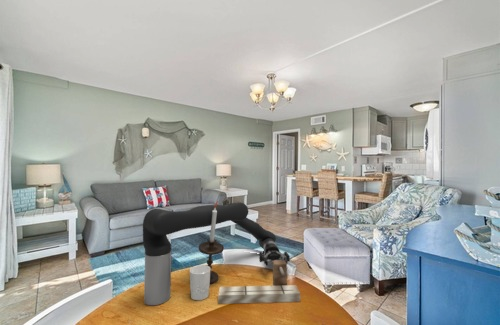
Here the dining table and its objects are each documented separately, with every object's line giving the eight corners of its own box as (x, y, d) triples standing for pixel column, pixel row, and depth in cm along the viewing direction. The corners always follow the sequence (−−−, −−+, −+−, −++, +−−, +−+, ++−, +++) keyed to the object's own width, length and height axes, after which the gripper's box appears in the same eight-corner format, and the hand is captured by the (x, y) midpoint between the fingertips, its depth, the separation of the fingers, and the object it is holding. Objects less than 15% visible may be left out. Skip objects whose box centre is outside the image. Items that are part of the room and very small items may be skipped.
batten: (218, 303, 81) (218, 295, 81) (219, 294, 87) (219, 286, 87) (300, 301, 82) (300, 293, 83) (296, 292, 88) (295, 284, 88)
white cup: (206, 288, 92) (206, 263, 92) (213, 297, 85) (213, 270, 85) (186, 293, 88) (187, 267, 88) (192, 303, 81) (193, 275, 81)
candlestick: (222, 273, 104) (230, 199, 102) (217, 287, 93) (225, 205, 91) (200, 269, 105) (207, 196, 103) (191, 283, 94) (199, 201, 92)
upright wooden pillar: (276, 299, 83) (276, 269, 84) (272, 287, 92) (272, 260, 93) (289, 299, 84) (289, 269, 84) (284, 287, 93) (284, 260, 93)
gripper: (257, 243, 116) (260, 254, 100) (284, 242, 117) (292, 254, 101) (257, 257, 116) (260, 271, 100) (284, 257, 117) (292, 271, 100)
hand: (276, 263), depth 100 cm, fingers open, 8 cm apart
